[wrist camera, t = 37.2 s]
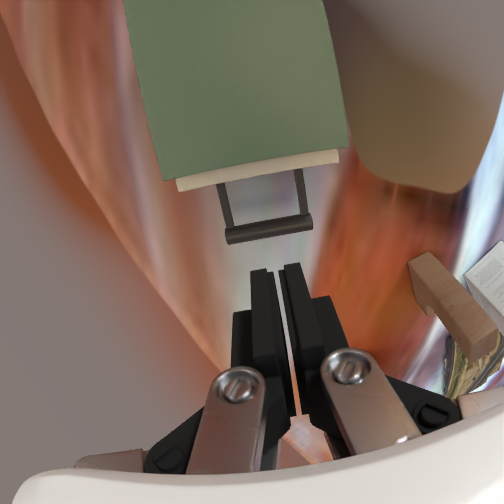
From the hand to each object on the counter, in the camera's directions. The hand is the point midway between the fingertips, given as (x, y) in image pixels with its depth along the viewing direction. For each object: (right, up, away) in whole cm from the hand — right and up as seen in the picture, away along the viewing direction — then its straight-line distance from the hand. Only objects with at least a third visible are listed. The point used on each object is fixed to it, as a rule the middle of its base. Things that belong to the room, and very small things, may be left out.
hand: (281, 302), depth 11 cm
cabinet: (-2, +18, +14) cm, 23 cm away
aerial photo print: (+40, -17, +33) cm, 55 cm away
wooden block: (+20, -1, +25) cm, 32 cm away
